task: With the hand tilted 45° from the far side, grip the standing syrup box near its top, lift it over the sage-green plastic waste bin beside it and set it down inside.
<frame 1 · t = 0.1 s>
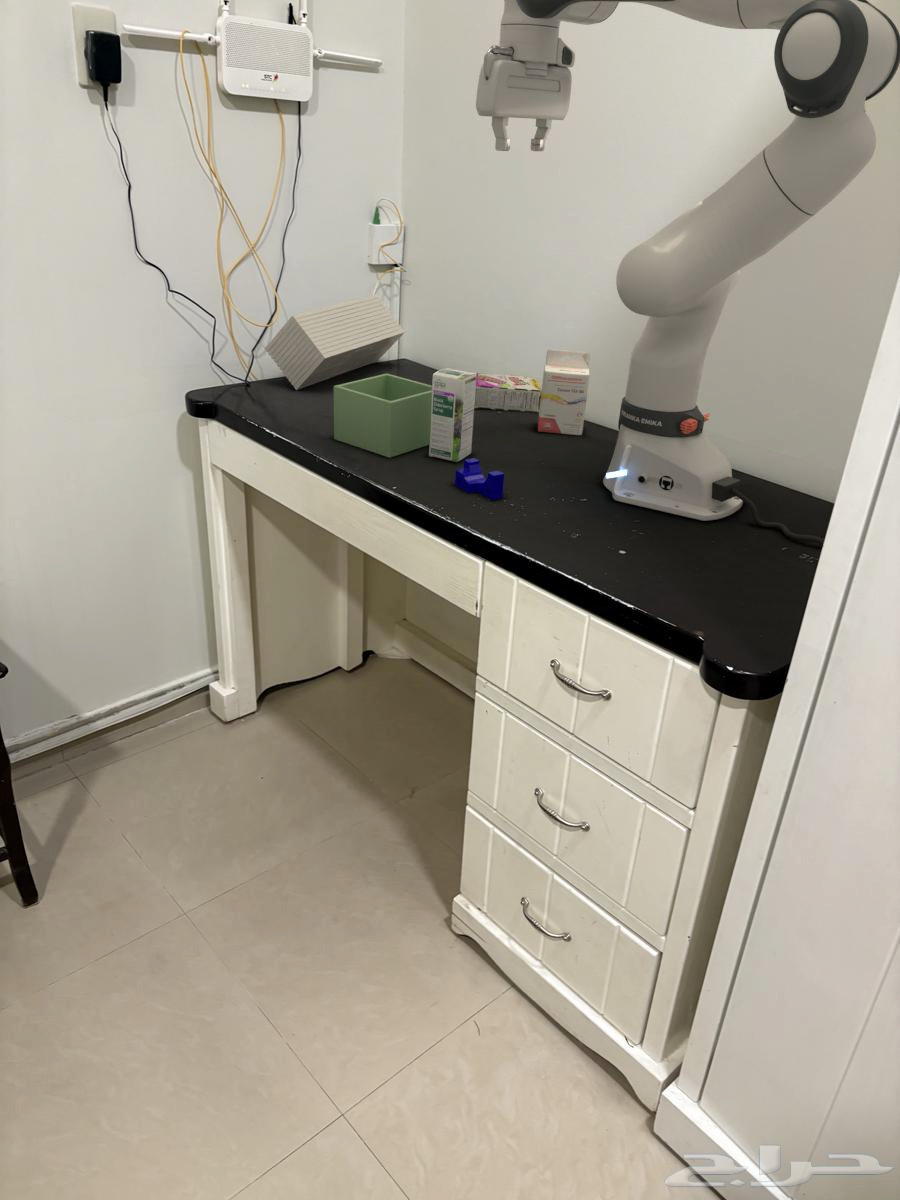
hand: (520, 151, 147), 48 cm above the table, tool pointing down, fingers open, 8 cm apart
syrup box: (450, 456, 162), on the table
waste bin: (387, 440, 168), on the table
stack of papers: (353, 360, 203), point 4 cm above the table
cable holder: (478, 492, 147), on the table
candy bar box: (458, 388, 191), point 3 cm above the table
ink cartridge box: (559, 431, 178), on the table
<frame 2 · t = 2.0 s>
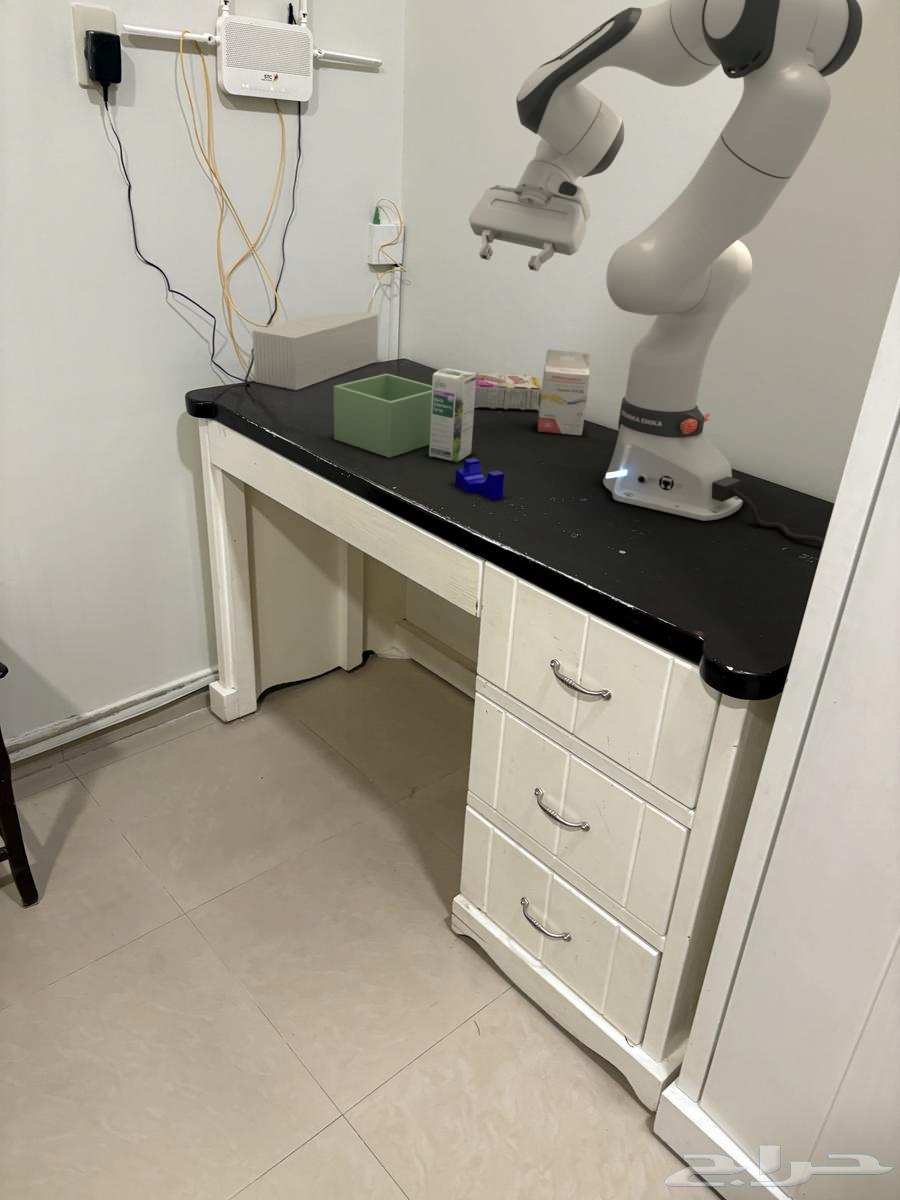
hand: (507, 262, 157), 31 cm above the table, tool tilted 40°, fingers open, 8 cm apart
stack of papers: (340, 350, 203), point 5 cm above the table
everything else where it was.
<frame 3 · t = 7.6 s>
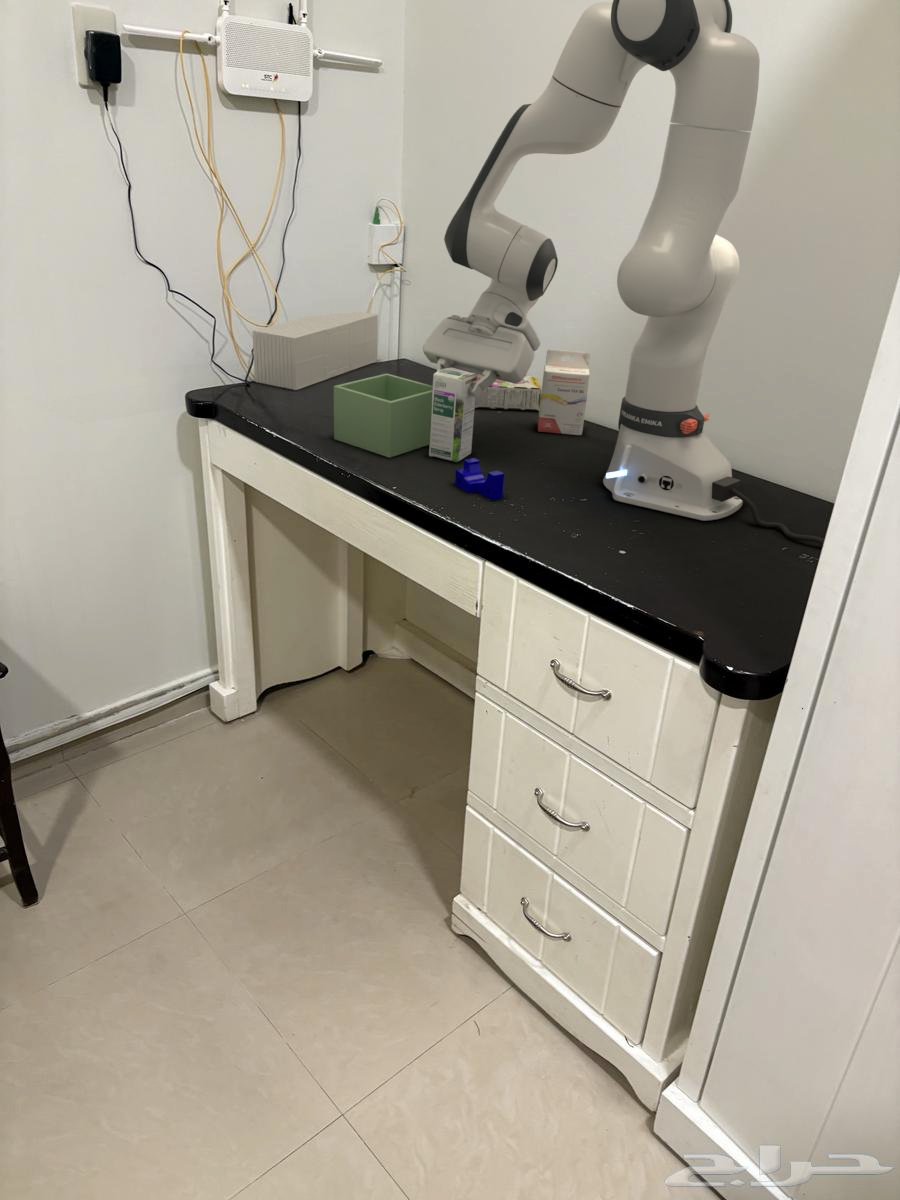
hand: (454, 390, 157), 11 cm above the table, tool tilted 45°, fingers closed on syrup box, 6 cm apart
syrup box: (450, 456, 162), on the table, touching gripper
everything else where it was.
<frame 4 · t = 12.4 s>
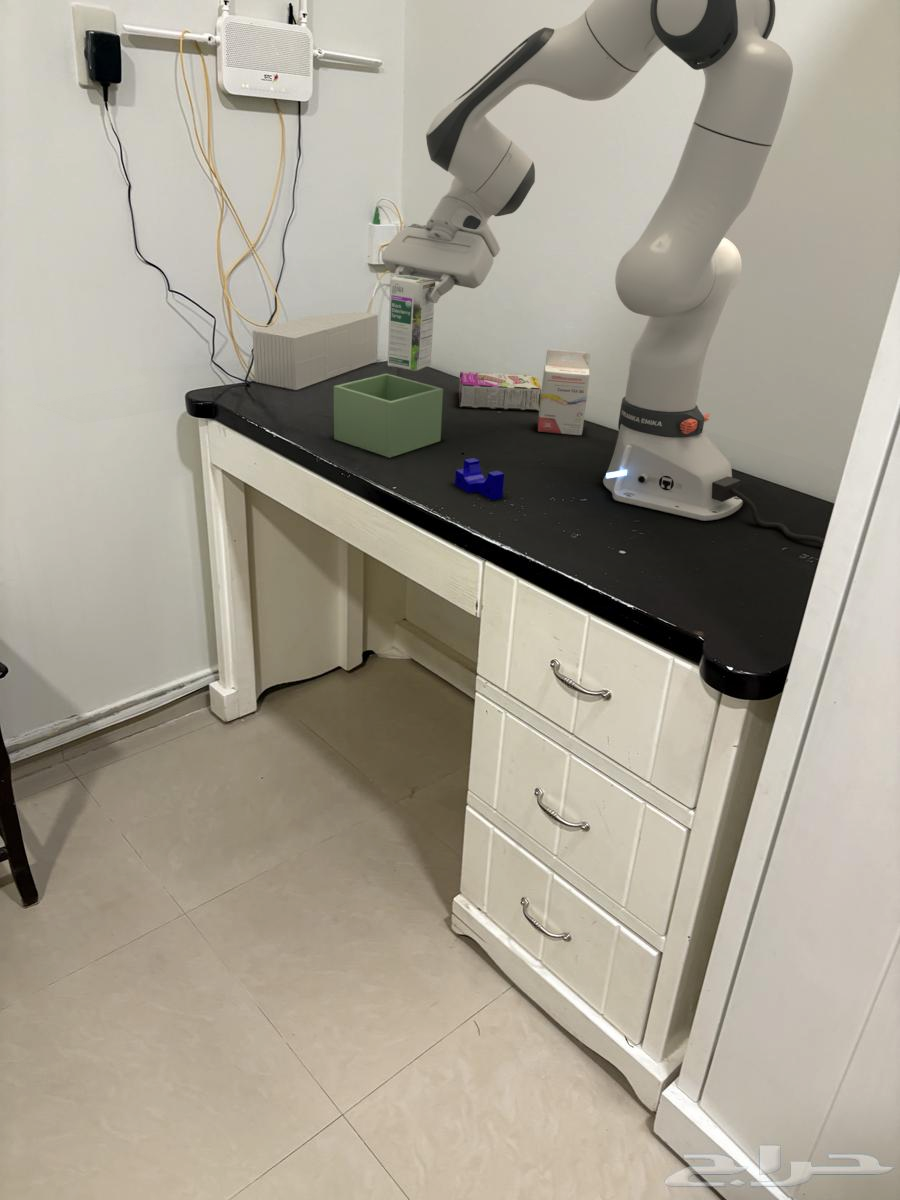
hand: (413, 296, 154), 25 cm above the table, tool tilted 45°, fingers closed on syrup box, 6 cm apart
syrup box: (409, 366, 159), point 14 cm above the table, touching gripper
everything else where it was.
when the fingers open (12 cm above the table, at t = 17.1 s): syrup box stays where it is, resting on waste bin.
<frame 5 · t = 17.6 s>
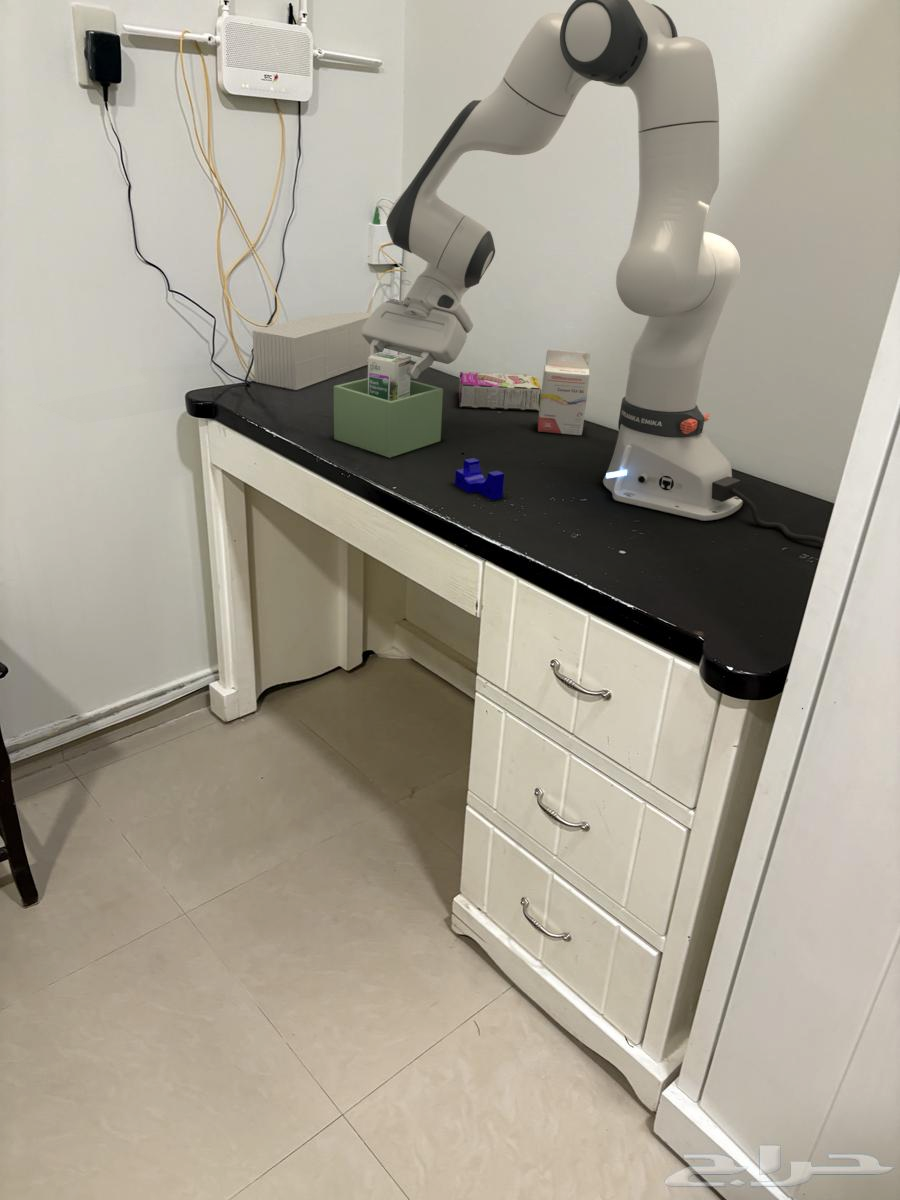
hand: (390, 370, 162), 12 cm above the table, tool tilted 45°, fingers open, 8 cm apart
syrup box: (387, 437, 167), resting on waste bin
everything else where it was.
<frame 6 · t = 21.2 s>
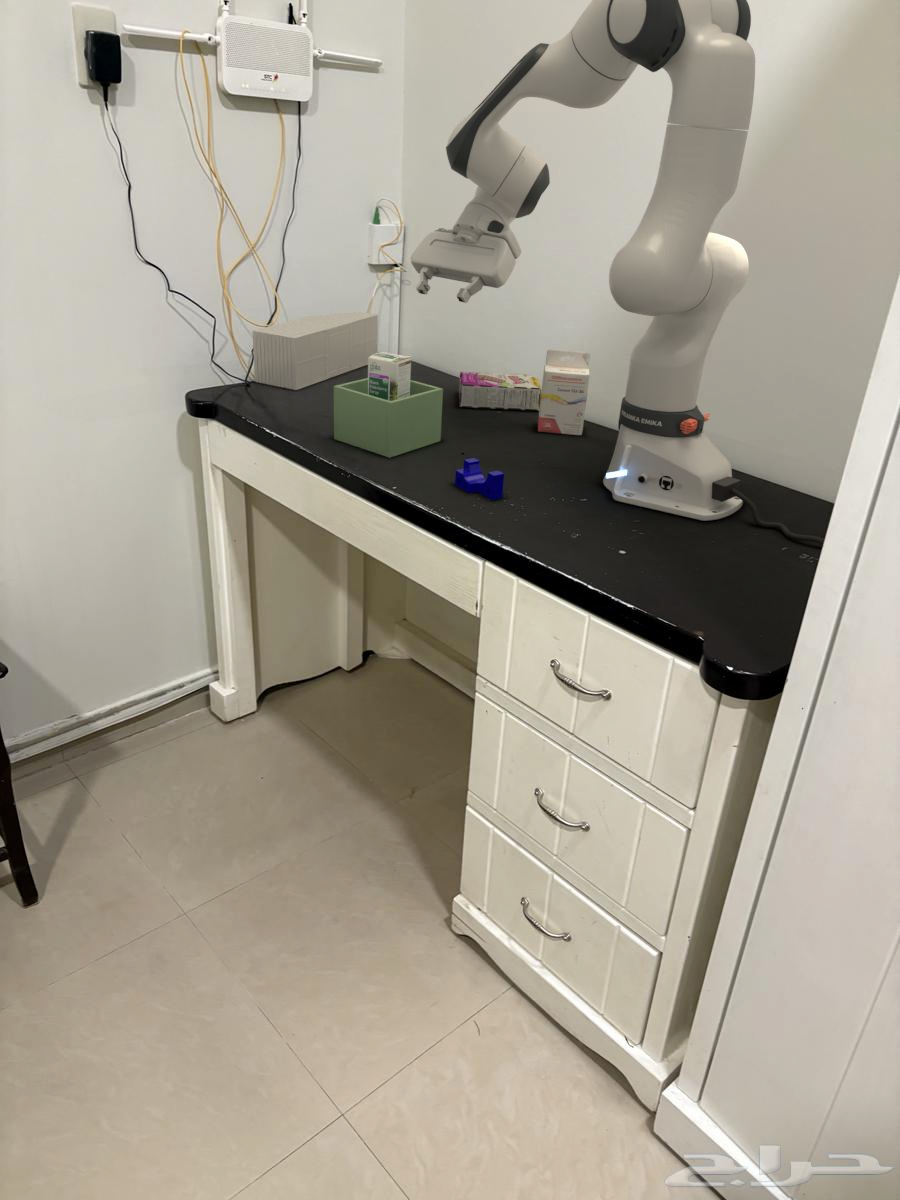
hand: (440, 295, 166), 24 cm above the table, tool tilted 45°, fingers open, 8 cm apart
nothing on the table moved.
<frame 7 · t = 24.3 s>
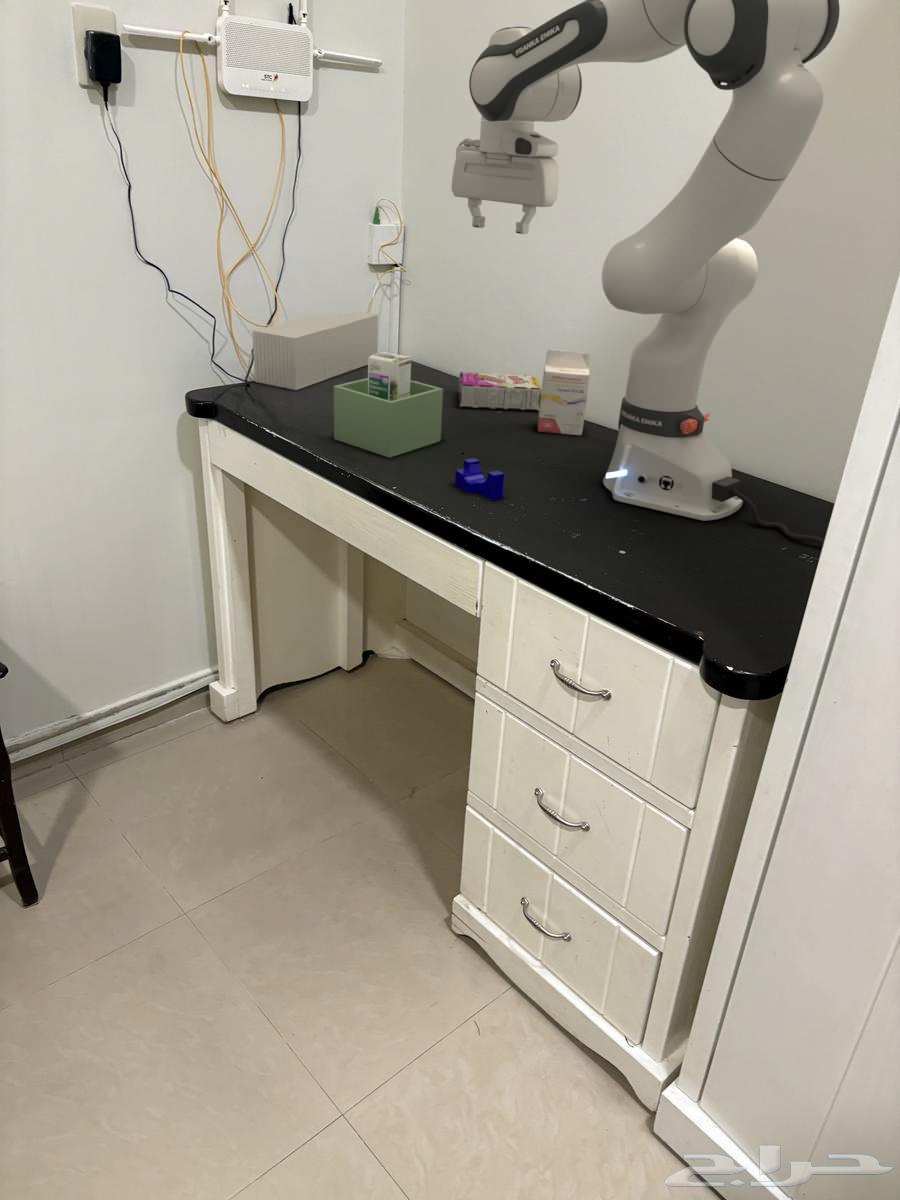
hand: (499, 230, 161), 35 cm above the table, tool pointing down, fingers open, 8 cm apart
nothing on the table moved.
at the end: syrup box inside the target area in the waste bin (0.0 cm from its centre), point 0.4 cm above the waste bin's base; the gripper is holding nothing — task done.
